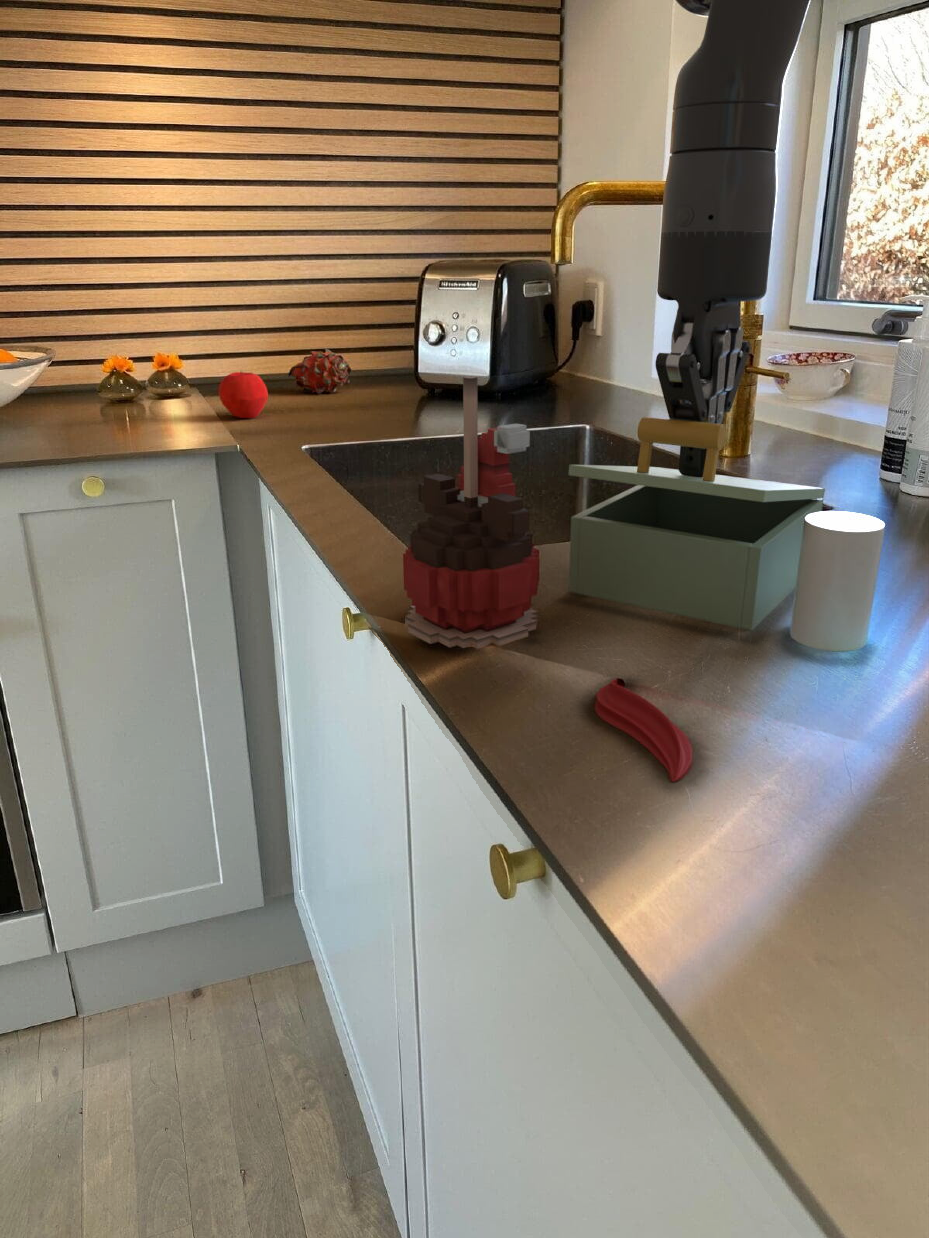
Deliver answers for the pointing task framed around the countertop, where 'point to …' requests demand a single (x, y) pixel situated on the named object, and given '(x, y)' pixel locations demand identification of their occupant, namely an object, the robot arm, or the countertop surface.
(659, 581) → the bin
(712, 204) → the robot arm
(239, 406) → the apple
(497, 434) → the cake
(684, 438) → the bin lid
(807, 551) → the white cylinder
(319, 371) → the dragon fruit
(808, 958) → the countertop surface
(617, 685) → the cayenne pepper
